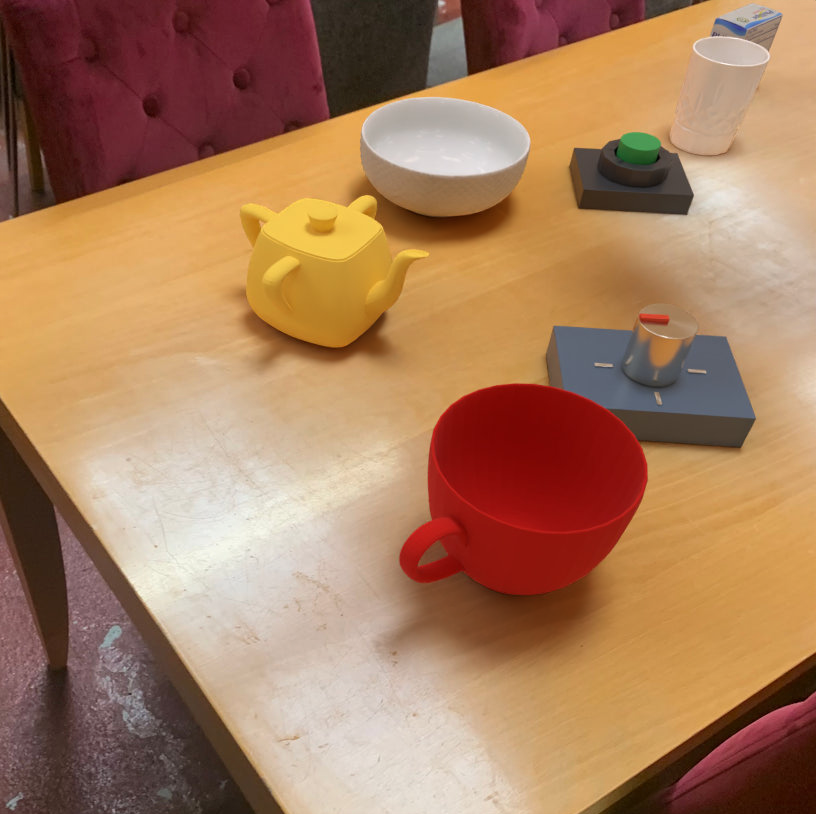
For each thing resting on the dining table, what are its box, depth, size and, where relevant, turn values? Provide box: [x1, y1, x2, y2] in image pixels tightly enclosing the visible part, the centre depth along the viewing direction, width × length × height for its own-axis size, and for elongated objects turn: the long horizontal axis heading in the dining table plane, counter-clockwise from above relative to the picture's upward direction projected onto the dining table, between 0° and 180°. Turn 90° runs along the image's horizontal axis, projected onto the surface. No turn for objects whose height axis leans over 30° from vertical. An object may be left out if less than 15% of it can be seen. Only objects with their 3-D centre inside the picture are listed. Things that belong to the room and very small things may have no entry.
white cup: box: [668, 36, 771, 156], centre depth 98 cm, size 8×8×10 cm
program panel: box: [545, 325, 757, 448], centre depth 71 cm, size 14×10×3 cm
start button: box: [616, 131, 662, 165], centre depth 91 cm, size 4×4×2 cm
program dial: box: [621, 303, 700, 387], centre depth 68 cm, size 4×4×5 cm
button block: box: [568, 138, 695, 216], centre depth 93 cm, size 11×9×4 cm
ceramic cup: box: [398, 382, 649, 596], centre depth 56 cm, size 13×17×10 cm
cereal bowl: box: [359, 96, 532, 218], centre depth 90 cm, size 17×17×7 cm
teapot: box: [239, 194, 430, 349], centre depth 75 cm, size 14×13×10 cm
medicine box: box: [709, 2, 784, 53], centre depth 108 cm, size 8×4×9 cm, turn 130°
